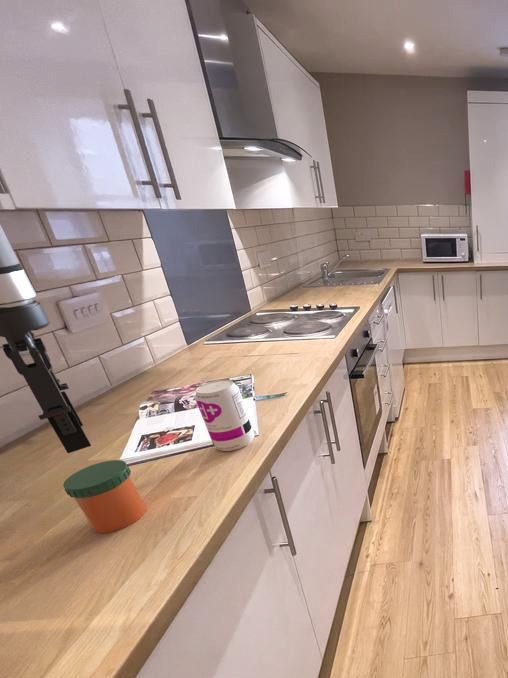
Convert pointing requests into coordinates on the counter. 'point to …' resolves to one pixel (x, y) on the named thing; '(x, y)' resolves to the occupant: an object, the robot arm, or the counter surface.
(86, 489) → the honey lid
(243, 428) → the supplement can
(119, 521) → the honey jar
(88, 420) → the counter surface
